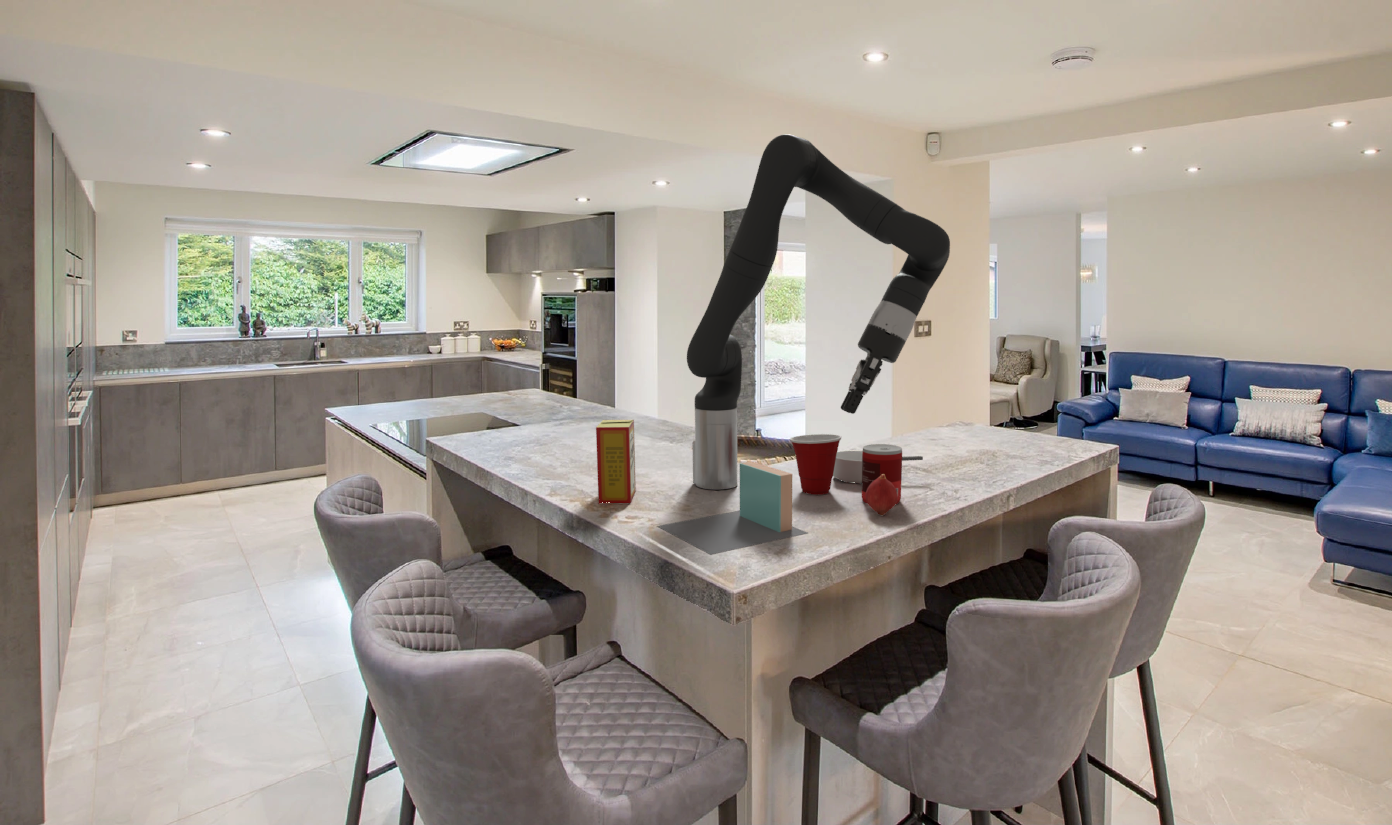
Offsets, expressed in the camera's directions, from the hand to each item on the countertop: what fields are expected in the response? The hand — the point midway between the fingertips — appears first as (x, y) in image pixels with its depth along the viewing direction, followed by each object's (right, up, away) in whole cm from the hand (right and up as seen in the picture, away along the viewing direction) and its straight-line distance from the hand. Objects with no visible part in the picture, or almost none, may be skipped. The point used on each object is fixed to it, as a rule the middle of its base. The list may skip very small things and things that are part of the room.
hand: (846, 411), depth 137 cm
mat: (-21, -21, -5) cm, 31 cm away
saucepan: (+13, -16, +32) cm, 37 cm away
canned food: (+10, -18, +14) cm, 25 cm away
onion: (+7, -20, +4) cm, 21 cm away
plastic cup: (-2, -17, +22) cm, 28 cm away
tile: (-15, -20, -1) cm, 25 cm away
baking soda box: (-44, -18, +19) cm, 51 cm away
